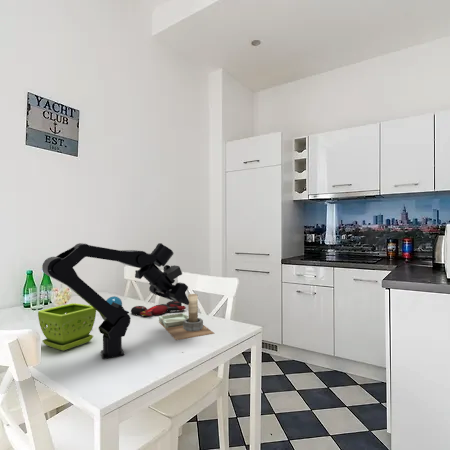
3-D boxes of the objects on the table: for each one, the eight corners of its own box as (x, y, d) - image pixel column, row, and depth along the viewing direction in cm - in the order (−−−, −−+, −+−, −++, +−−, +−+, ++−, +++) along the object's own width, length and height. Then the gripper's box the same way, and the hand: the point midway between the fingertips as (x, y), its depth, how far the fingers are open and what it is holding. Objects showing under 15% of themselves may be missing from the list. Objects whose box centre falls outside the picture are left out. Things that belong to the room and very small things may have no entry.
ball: (101, 313, 148) (101, 296, 148) (117, 310, 154) (116, 293, 154) (109, 316, 142) (109, 299, 142) (125, 313, 148) (125, 296, 148)
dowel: (199, 328, 122) (198, 295, 122) (190, 330, 120) (190, 296, 120) (195, 326, 125) (195, 293, 125) (187, 327, 123) (187, 294, 123)
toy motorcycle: (129, 316, 149) (137, 319, 135) (129, 304, 150) (137, 306, 136) (178, 310, 161) (190, 312, 148) (178, 299, 162) (190, 301, 148)
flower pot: (98, 341, 112) (97, 306, 112) (60, 355, 100) (60, 316, 100) (74, 335, 119) (73, 301, 119) (36, 347, 107) (36, 310, 107)
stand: (214, 336, 116) (214, 325, 116) (175, 343, 109) (175, 331, 109) (191, 318, 139) (191, 309, 139) (157, 323, 132) (157, 313, 132)
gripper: (183, 261, 108) (208, 288, 116) (155, 257, 122) (180, 281, 129) (163, 286, 103) (191, 313, 110) (137, 280, 117) (163, 304, 124)
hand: (181, 301), depth 119 cm, fingers open, 9 cm apart
